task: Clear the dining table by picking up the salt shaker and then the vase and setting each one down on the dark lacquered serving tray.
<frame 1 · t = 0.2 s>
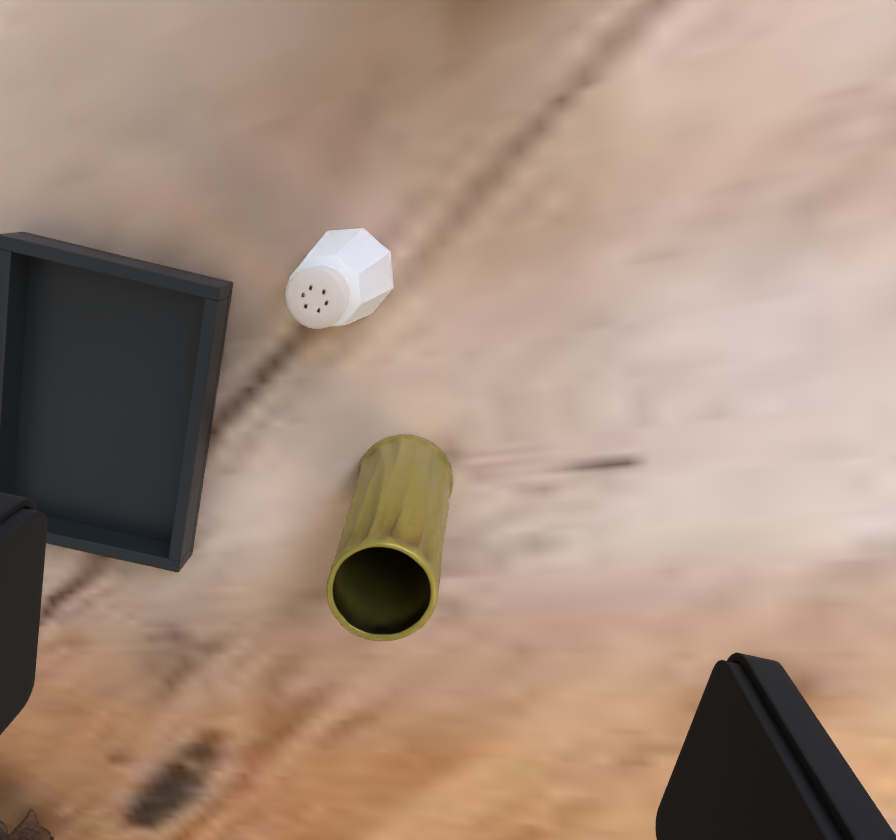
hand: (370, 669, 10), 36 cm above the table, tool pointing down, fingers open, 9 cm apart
vase: (405, 477, 48), on the table
salt shaker: (350, 272, 45), on the table
tray: (112, 403, 47), on the table
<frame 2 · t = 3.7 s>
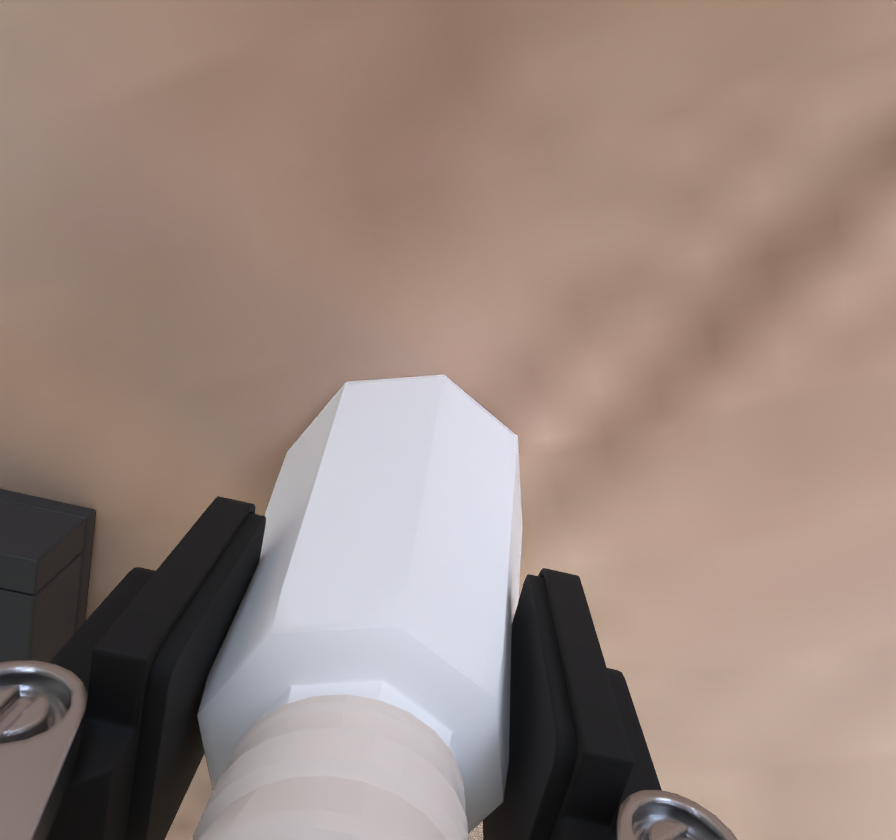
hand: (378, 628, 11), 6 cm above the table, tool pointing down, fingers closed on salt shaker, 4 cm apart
salt shaker: (407, 482, 17), on the table, touching gripper
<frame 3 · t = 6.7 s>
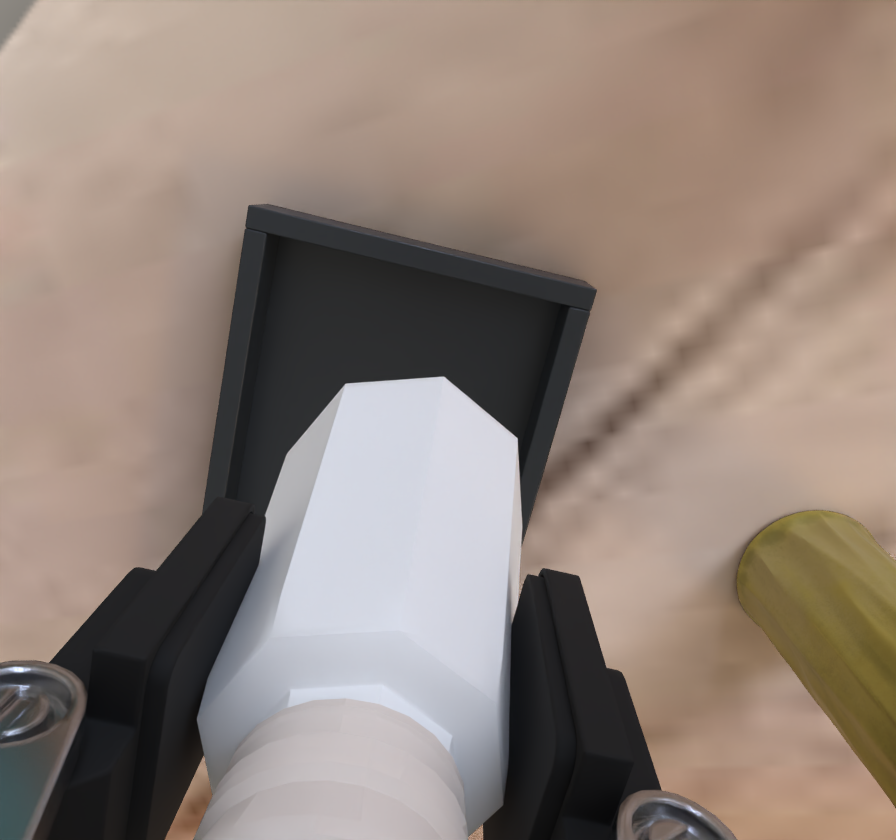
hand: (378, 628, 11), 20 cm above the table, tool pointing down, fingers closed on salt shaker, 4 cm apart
vase: (803, 570, 33), on the table
salt shaker: (407, 484, 17), point 14 cm above the table, touching gripper
tray: (378, 464, 31), on the table
when the fingers open (6 cm above the table, at t = 10.0 s): salt shaker stays where it is, resting on tray.
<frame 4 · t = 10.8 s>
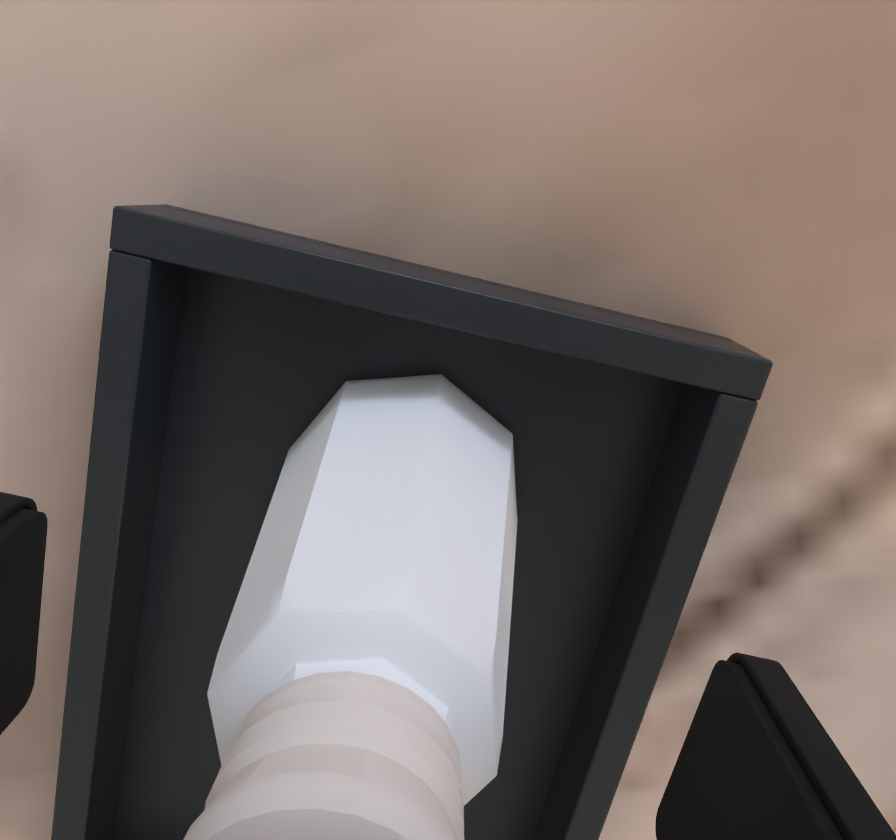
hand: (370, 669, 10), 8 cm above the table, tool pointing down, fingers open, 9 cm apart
salt shaker: (405, 479, 17), resting on tray
tray: (368, 636, 19), on the table
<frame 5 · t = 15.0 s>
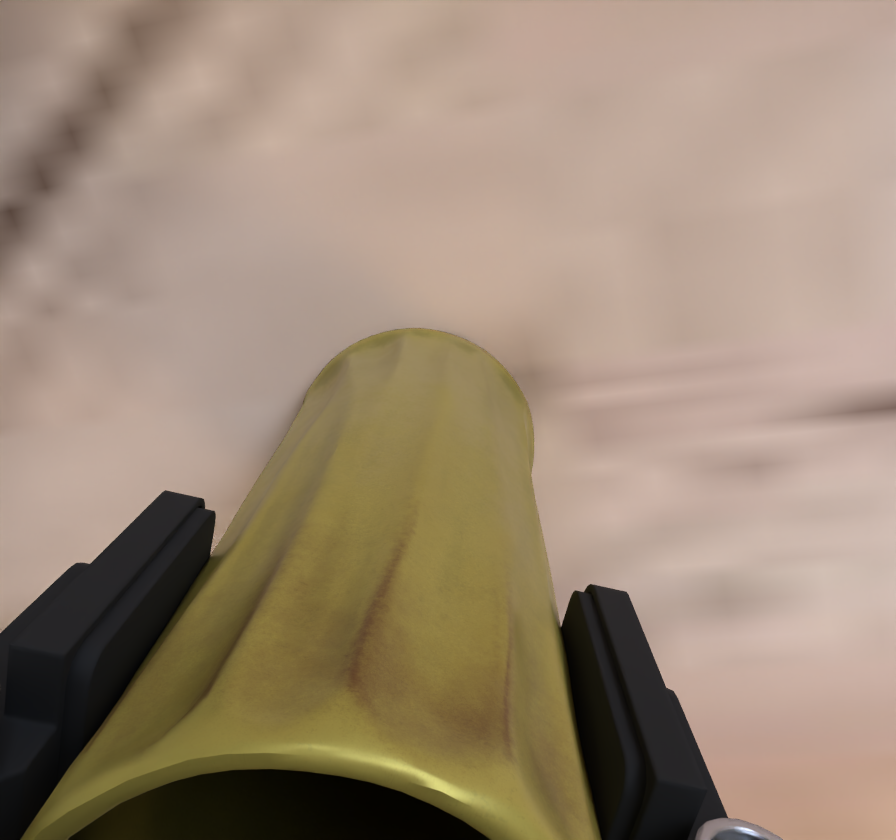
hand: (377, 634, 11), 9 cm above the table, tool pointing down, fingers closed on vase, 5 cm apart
vase: (416, 440, 20), on the table, touching gripper
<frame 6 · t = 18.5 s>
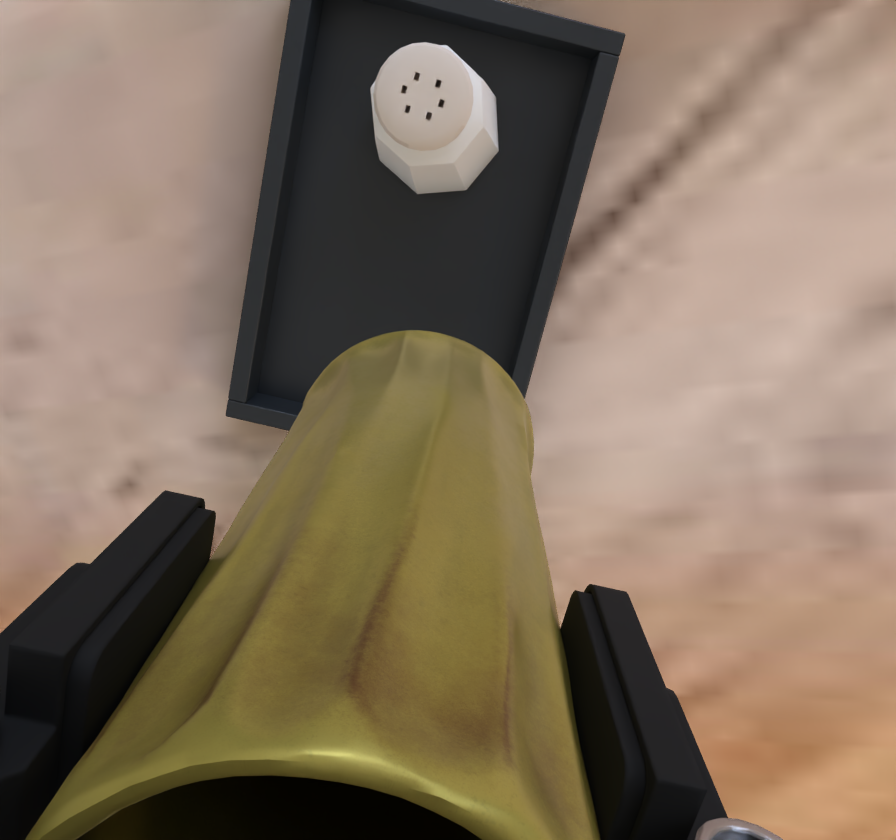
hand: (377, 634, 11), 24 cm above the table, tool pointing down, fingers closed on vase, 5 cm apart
vase: (415, 442, 20), point 15 cm above the table, touching gripper
salt shaker: (437, 130, 31), resting on tray
tray: (414, 236, 33), on the table
when the fingers open (9 cm above the table, at t = 22.2 s): vase stays where it is, resting on tray.
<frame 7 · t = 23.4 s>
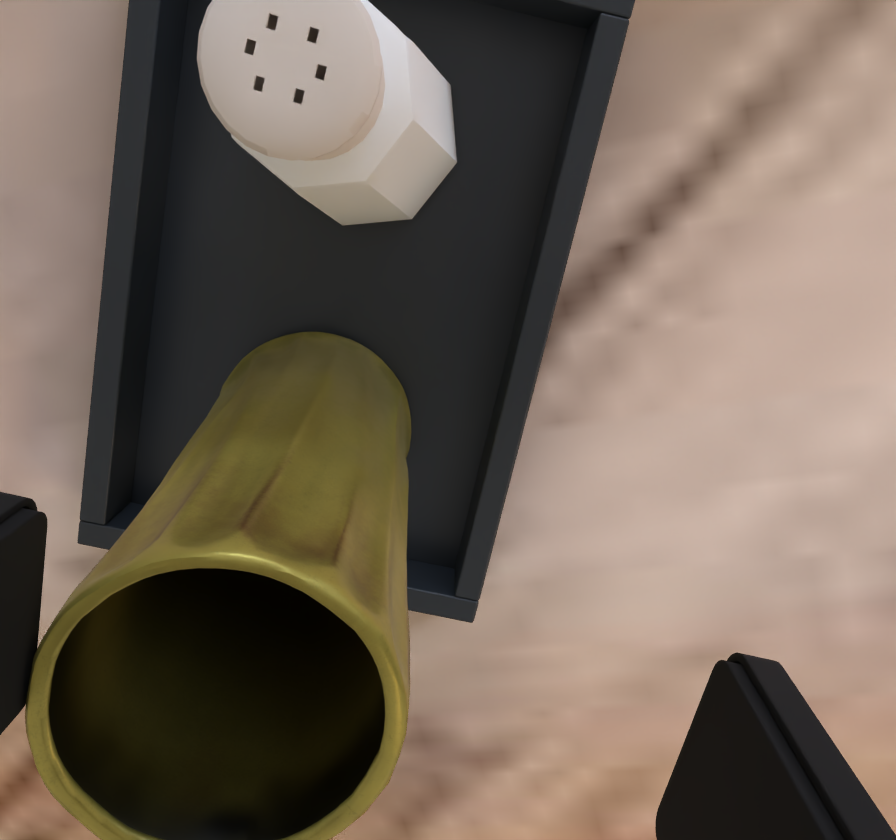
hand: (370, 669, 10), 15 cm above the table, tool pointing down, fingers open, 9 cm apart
vase: (315, 423, 24), point 1 cm above the table, touching gripper, tray
salt shaker: (368, 134, 22), resting on tray
tray: (342, 284, 23), on the table
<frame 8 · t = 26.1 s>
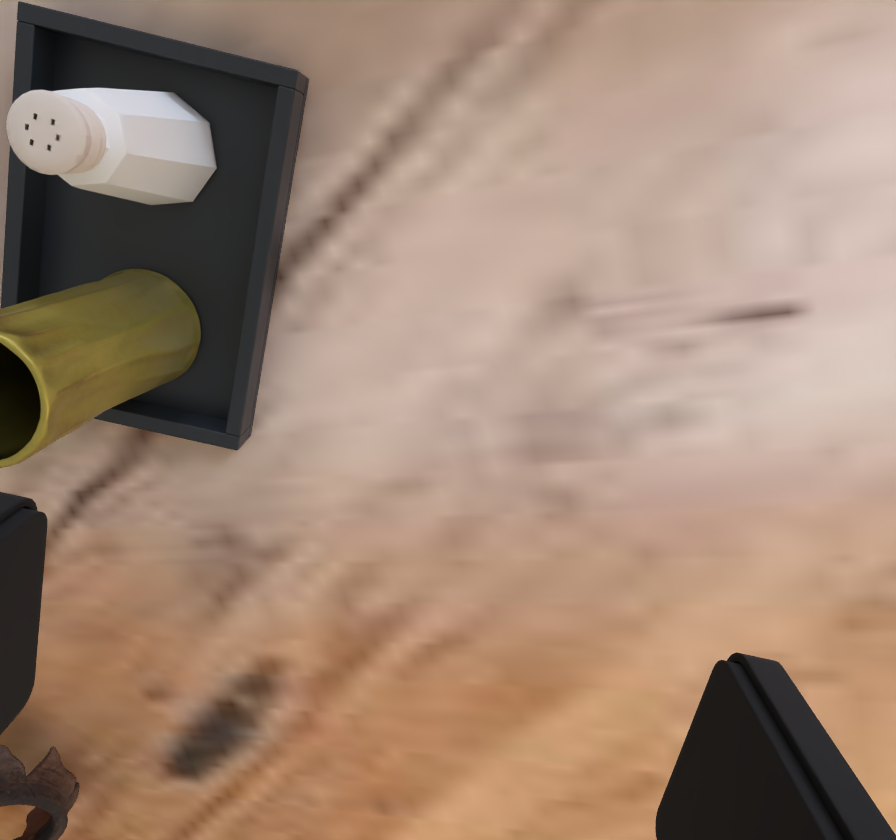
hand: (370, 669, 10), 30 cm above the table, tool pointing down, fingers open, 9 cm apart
vase: (145, 326, 39), resting on tray
salt shaker: (165, 150, 37), resting on tray
tray: (157, 241, 38), on the table
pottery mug: (2, 749, 48), on the table
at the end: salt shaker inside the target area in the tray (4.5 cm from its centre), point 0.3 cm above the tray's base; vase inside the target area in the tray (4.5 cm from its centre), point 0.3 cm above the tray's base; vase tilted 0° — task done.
